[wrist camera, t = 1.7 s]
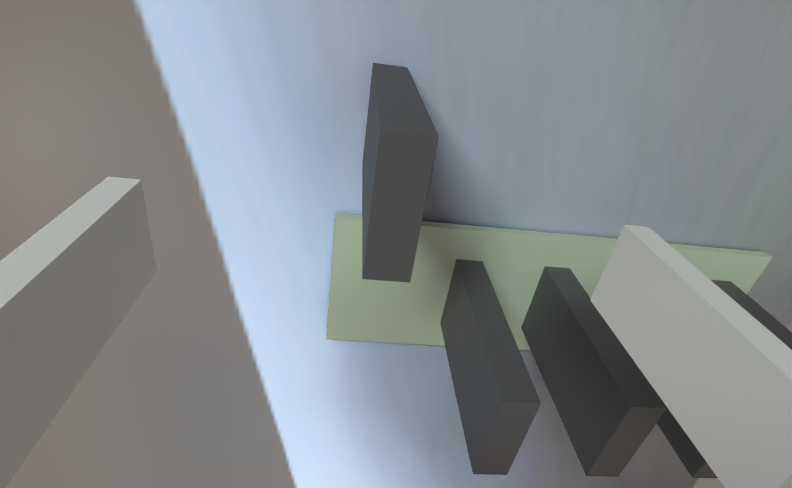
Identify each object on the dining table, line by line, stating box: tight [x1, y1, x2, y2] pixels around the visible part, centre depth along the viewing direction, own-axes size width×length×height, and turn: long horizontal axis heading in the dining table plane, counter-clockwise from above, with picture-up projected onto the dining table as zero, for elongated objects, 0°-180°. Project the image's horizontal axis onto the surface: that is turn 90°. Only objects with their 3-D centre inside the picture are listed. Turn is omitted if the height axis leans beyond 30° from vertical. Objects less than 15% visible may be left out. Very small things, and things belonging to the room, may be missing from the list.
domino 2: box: [440, 259, 541, 475], centre depth 23 cm, size 5×2×10 cm, turn 172°
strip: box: [326, 213, 773, 350], centre depth 28 cm, size 9×27×1 cm, turn 82°
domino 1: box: [362, 63, 438, 283], centre depth 17 cm, size 5×2×10 cm, turn 172°
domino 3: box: [521, 266, 666, 476], centre depth 23 cm, size 5×2×10 cm, turn 172°
